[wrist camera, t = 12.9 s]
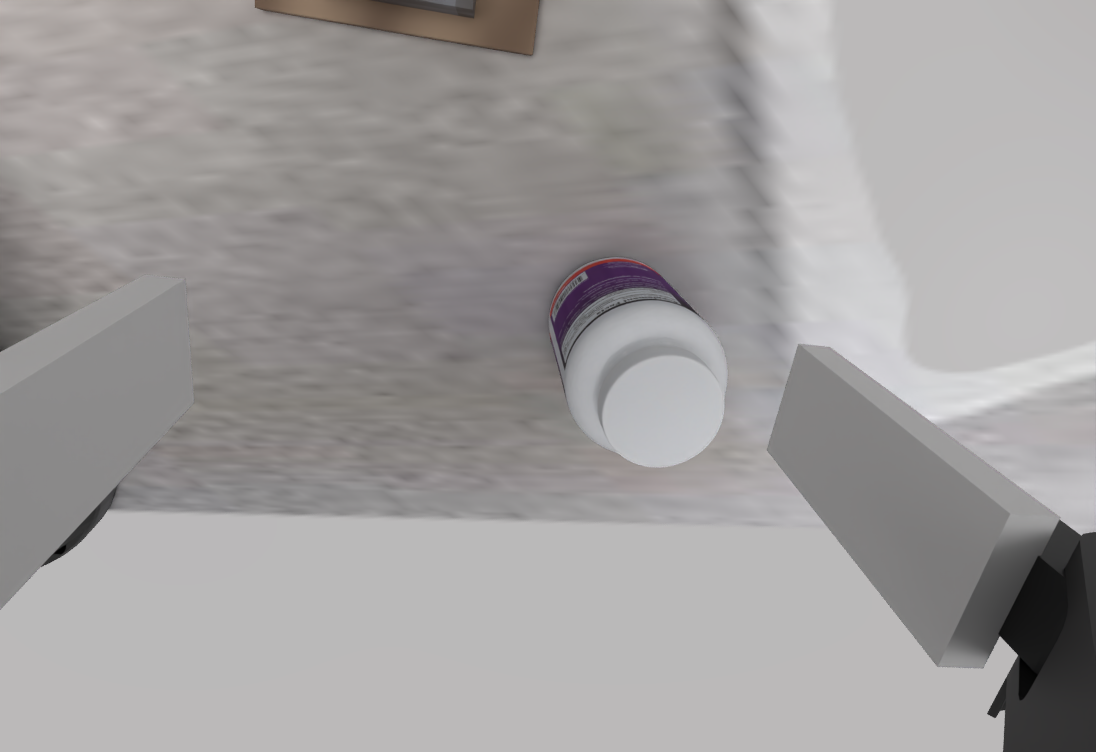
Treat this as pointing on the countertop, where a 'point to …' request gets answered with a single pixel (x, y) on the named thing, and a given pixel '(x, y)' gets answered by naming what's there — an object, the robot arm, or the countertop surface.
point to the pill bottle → (637, 363)
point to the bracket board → (429, 19)
